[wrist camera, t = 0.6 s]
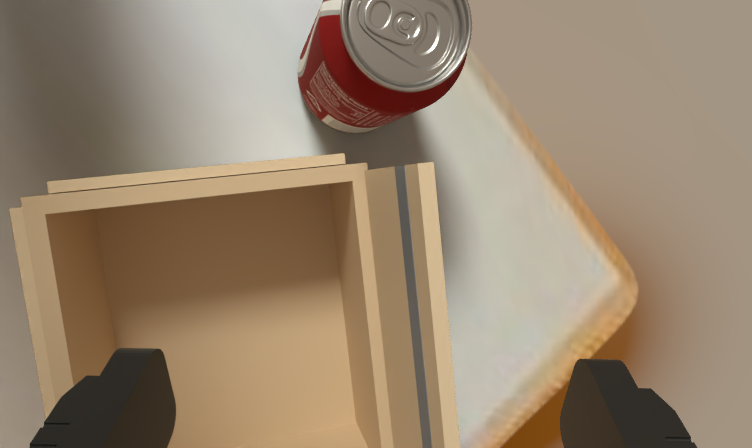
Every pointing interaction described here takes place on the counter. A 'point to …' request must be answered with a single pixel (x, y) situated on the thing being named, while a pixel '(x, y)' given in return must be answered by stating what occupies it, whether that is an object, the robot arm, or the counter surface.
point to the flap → (413, 305)
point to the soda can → (381, 59)
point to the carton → (217, 296)
